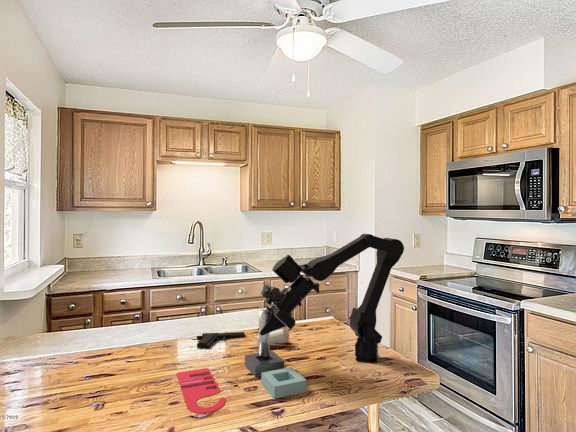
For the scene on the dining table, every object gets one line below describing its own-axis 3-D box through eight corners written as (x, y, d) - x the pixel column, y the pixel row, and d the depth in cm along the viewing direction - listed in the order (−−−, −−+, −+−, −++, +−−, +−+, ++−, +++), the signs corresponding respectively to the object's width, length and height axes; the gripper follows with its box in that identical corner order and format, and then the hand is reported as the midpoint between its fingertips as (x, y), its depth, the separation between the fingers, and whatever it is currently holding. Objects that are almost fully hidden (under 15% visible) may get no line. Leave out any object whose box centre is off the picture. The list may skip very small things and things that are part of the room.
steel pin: (271, 353, 115) (271, 309, 115) (267, 357, 112) (267, 312, 112) (261, 351, 116) (261, 308, 116) (257, 355, 113) (257, 311, 113)
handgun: (248, 342, 132) (244, 330, 144) (197, 344, 128) (196, 332, 140) (248, 349, 132) (243, 336, 144) (196, 351, 128) (196, 338, 140)
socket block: (272, 360, 120) (272, 350, 120) (284, 371, 112) (284, 360, 112) (244, 365, 116) (244, 355, 116) (255, 376, 108) (255, 366, 108)
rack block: (291, 377, 107) (291, 367, 107) (306, 391, 99) (306, 380, 99) (261, 383, 104) (261, 372, 104) (274, 398, 95) (274, 386, 95)
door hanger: (208, 367, 114) (230, 407, 91) (208, 369, 114) (230, 409, 91) (175, 372, 110) (189, 415, 87) (175, 374, 110) (189, 418, 87)
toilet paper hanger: (291, 344, 131) (287, 324, 131) (260, 352, 130) (255, 332, 130) (289, 332, 151) (285, 315, 152) (261, 339, 151) (258, 322, 151)
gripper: (271, 270, 123) (237, 306, 121) (284, 281, 105) (243, 323, 103) (295, 293, 125) (261, 329, 123) (311, 308, 107) (272, 350, 105)
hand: (259, 332), depth 113 cm, fingers closed on steel pin, 3 cm apart
